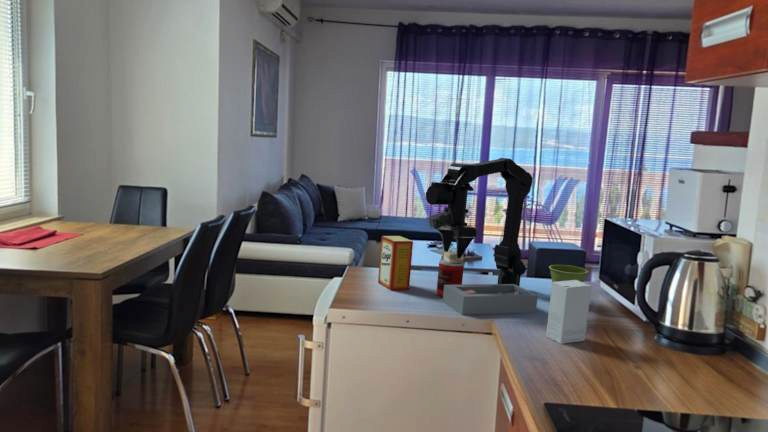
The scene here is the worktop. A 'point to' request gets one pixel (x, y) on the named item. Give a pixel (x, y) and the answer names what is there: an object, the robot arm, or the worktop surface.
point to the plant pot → (567, 273)
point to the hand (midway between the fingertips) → (452, 255)
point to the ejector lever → (497, 292)
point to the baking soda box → (395, 262)
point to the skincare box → (568, 311)
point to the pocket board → (489, 299)
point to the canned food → (449, 275)
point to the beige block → (452, 257)
